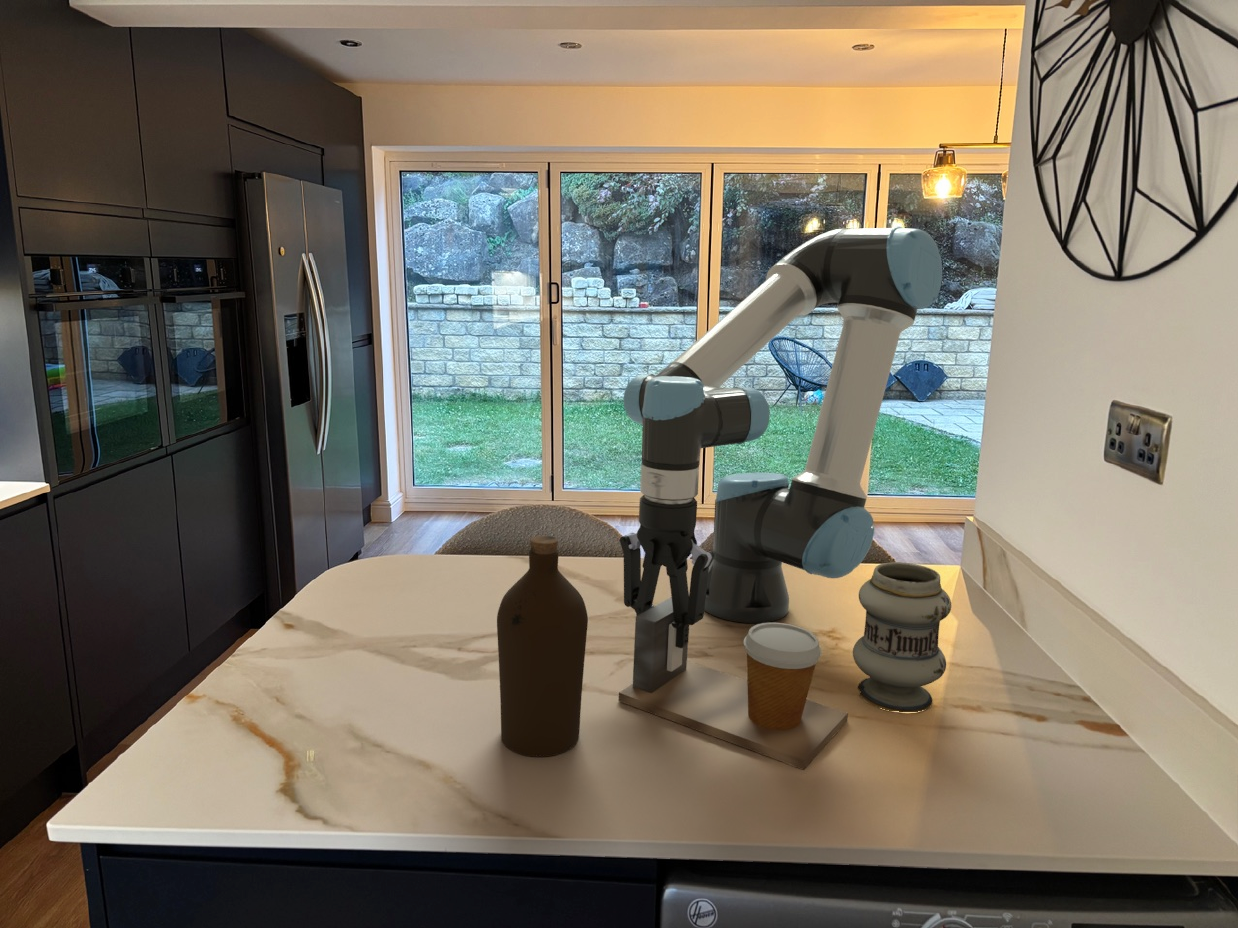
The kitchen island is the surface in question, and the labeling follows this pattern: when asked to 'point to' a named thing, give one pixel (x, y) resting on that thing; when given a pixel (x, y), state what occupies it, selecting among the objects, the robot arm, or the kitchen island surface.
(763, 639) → the disposable coffee cup
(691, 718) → the walnut board
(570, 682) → the olive oil
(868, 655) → the apothecary jar
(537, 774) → the kitchen island surface
